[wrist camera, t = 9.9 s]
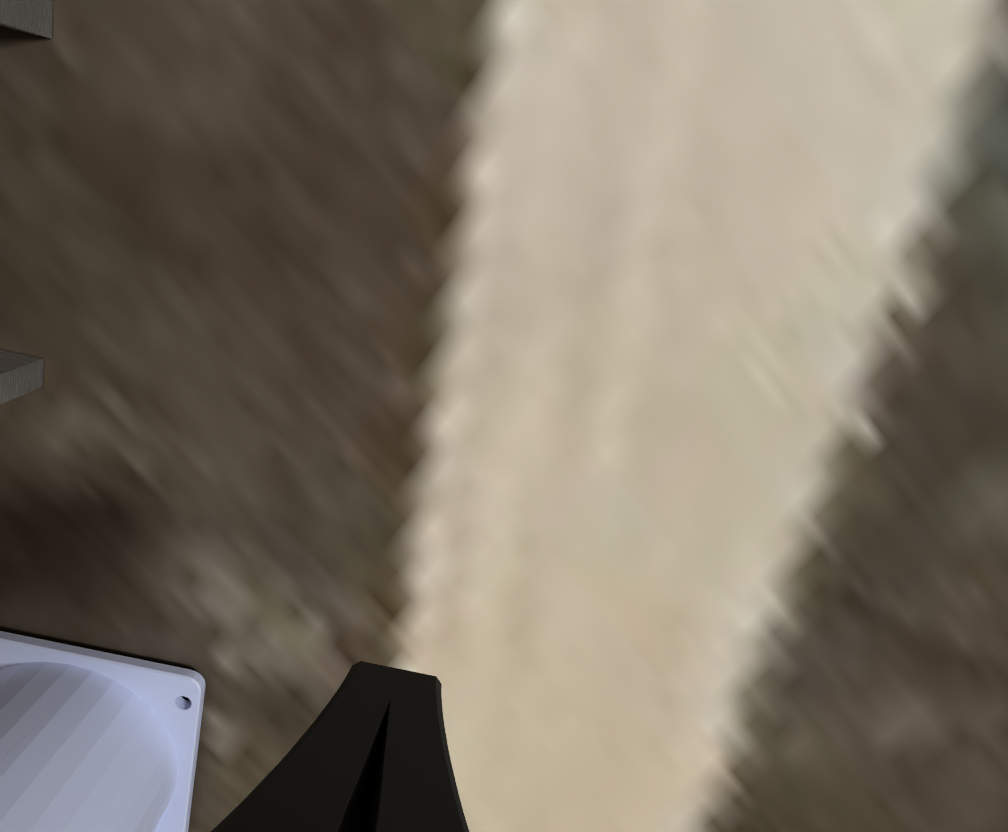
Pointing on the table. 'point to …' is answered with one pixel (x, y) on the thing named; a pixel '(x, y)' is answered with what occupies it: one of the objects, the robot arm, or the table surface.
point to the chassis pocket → (3, 373)
